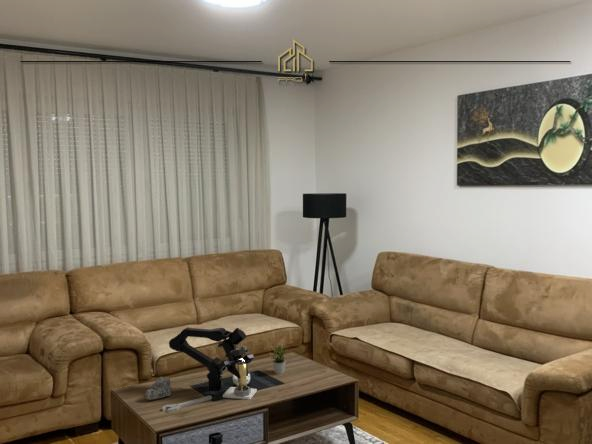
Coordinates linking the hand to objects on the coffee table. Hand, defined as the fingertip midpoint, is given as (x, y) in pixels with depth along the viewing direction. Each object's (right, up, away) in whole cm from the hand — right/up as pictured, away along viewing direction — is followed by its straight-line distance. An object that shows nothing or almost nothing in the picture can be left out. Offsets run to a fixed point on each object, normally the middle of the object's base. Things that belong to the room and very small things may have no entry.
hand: (243, 377), depth 281 cm
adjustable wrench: (-26, -12, -9) cm, 29 cm away
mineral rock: (-42, -11, +2) cm, 44 cm away
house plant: (+16, -7, +37) cm, 41 cm away
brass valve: (-1, -7, +2) cm, 7 cm away
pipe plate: (-2, -10, +4) cm, 11 cm away
